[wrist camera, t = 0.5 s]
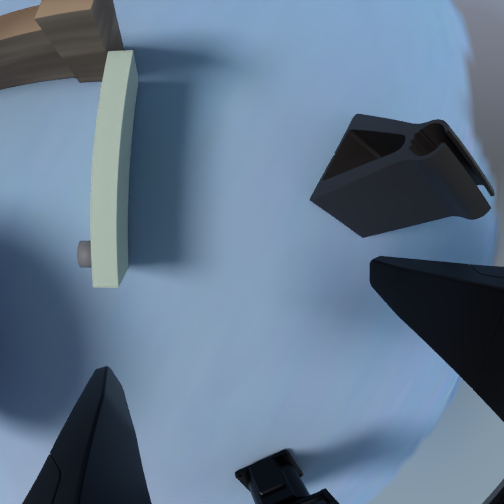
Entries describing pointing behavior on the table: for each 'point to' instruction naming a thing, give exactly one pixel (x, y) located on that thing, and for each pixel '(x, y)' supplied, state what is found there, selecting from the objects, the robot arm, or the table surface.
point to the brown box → (57, 41)
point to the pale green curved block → (111, 173)
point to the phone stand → (400, 176)
